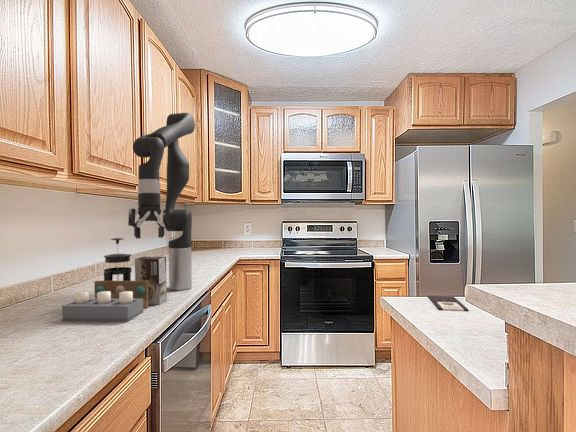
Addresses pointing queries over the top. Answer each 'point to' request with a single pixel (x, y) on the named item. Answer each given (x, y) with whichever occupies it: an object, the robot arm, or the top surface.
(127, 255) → the french press
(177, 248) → the robot arm
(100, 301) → the button
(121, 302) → the button
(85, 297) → the button
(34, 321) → the top surface
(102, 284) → the placard
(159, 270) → the coffee box
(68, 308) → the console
